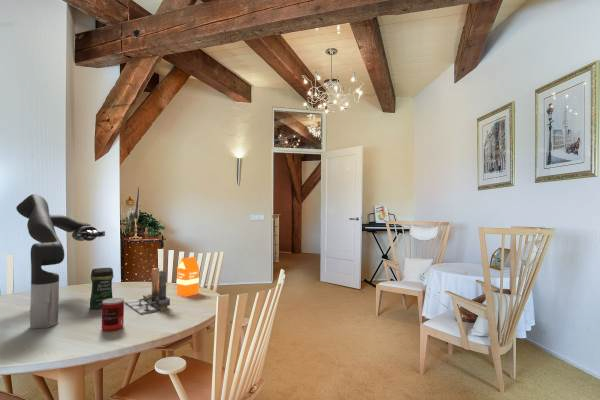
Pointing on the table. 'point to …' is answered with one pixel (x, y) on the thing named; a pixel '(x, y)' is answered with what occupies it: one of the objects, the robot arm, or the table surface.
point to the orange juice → (187, 277)
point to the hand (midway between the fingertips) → (95, 235)
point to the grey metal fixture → (158, 303)
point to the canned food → (112, 314)
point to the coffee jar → (101, 286)
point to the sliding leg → (153, 286)
